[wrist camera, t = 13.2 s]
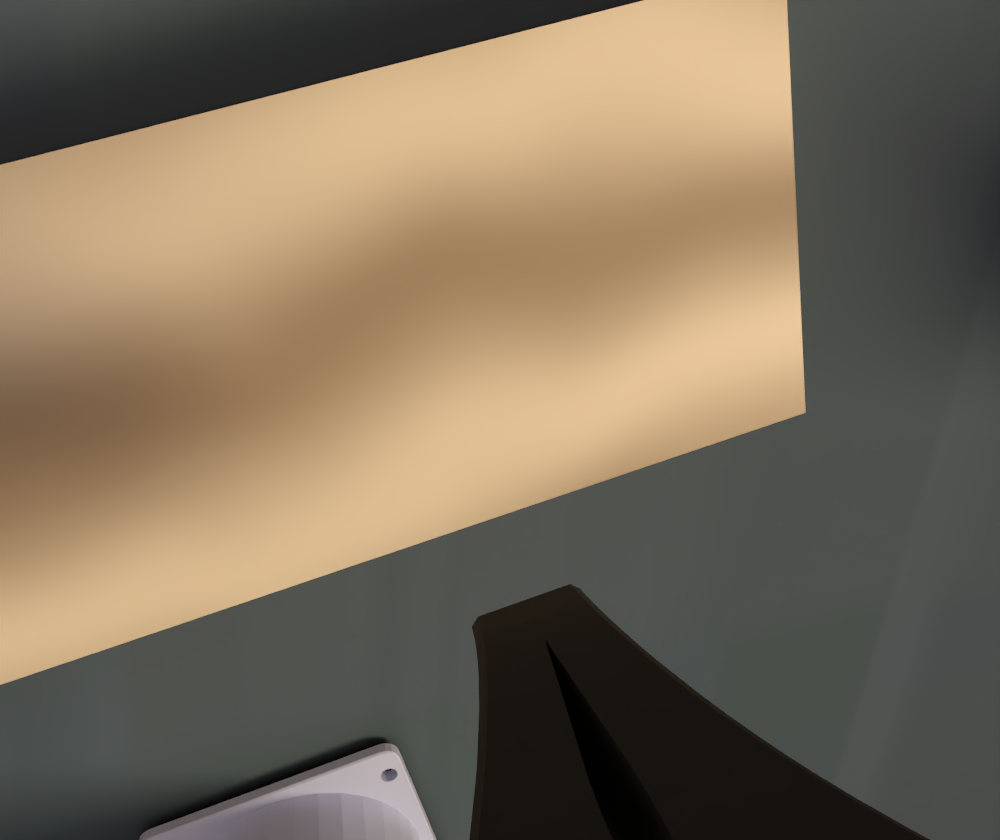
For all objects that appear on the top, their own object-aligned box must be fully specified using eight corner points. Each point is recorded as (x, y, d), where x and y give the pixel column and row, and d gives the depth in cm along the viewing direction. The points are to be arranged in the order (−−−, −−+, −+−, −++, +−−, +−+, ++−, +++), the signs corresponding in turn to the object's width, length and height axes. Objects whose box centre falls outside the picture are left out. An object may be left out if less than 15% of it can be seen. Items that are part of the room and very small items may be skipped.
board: (718, 357, 21) (805, 412, 17) (-203, 653, 18) (-328, 795, 14) (681, -10, 17) (784, -37, 13) (-517, 296, 14) (-801, 370, 10)
